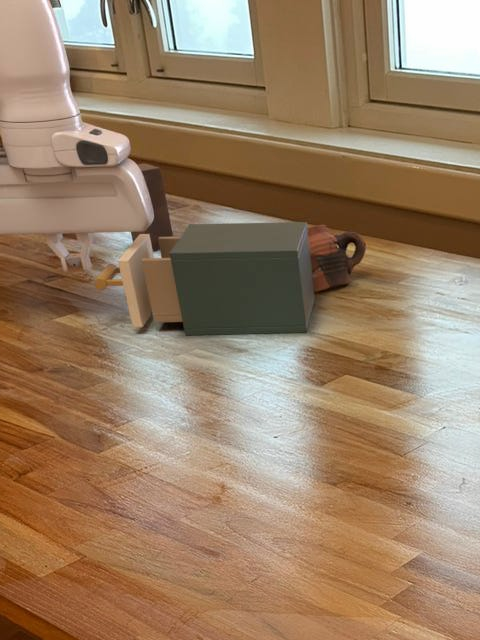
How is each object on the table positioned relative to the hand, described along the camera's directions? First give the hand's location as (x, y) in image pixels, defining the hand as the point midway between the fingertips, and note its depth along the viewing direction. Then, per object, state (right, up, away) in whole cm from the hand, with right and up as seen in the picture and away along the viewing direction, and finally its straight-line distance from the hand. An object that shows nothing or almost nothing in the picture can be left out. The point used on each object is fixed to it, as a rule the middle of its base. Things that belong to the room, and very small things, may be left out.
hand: (78, 270), depth 117 cm
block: (-1, +15, +30) cm, 33 cm away
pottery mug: (+27, +5, +16) cm, 32 cm away
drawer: (+11, -4, +4) cm, 12 cm away
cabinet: (+20, -4, +5) cm, 21 cm away
